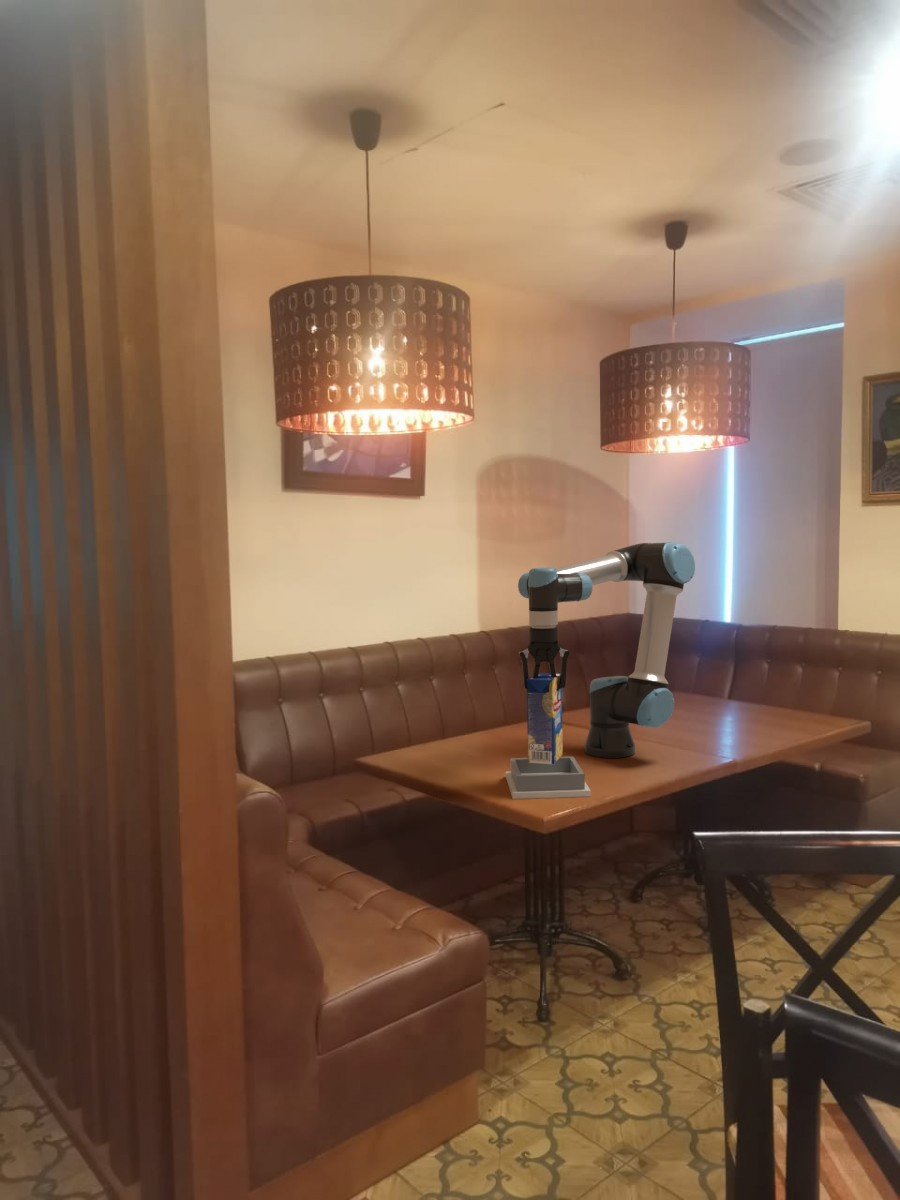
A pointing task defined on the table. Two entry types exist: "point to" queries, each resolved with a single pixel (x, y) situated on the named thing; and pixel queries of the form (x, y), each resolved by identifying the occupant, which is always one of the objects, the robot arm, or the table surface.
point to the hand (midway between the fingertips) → (544, 714)
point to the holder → (546, 779)
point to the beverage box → (544, 719)
